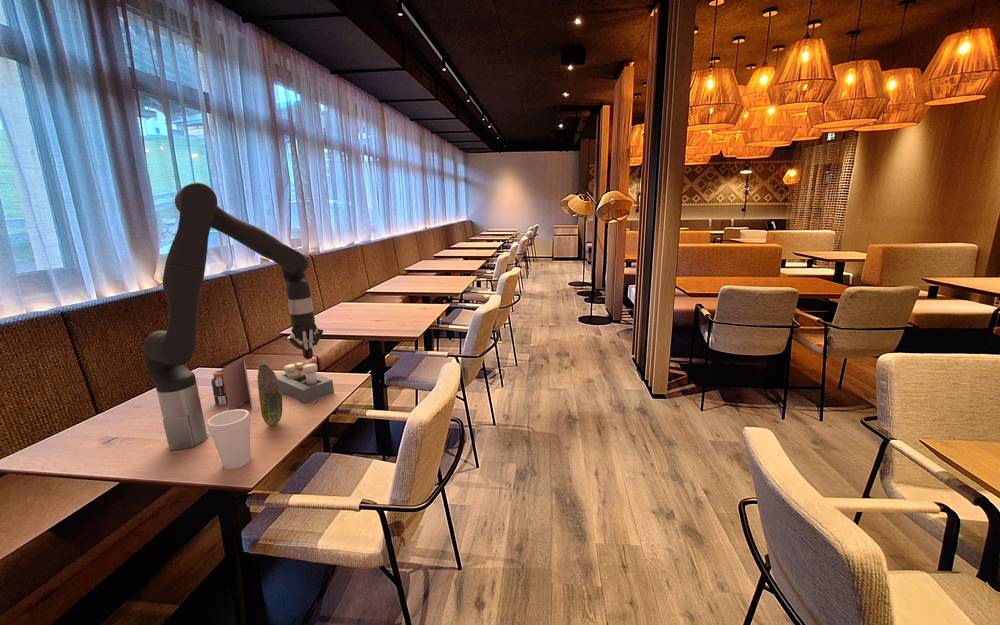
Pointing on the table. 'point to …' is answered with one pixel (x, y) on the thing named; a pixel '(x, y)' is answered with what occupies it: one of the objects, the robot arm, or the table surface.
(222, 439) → the foam cup
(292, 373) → the far cream knob
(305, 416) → the table surface
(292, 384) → the mount
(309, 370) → the near cream knob
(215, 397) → the pill bottle
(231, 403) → the greeting card
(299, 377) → the gold tall rounded piece
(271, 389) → the vegetable
